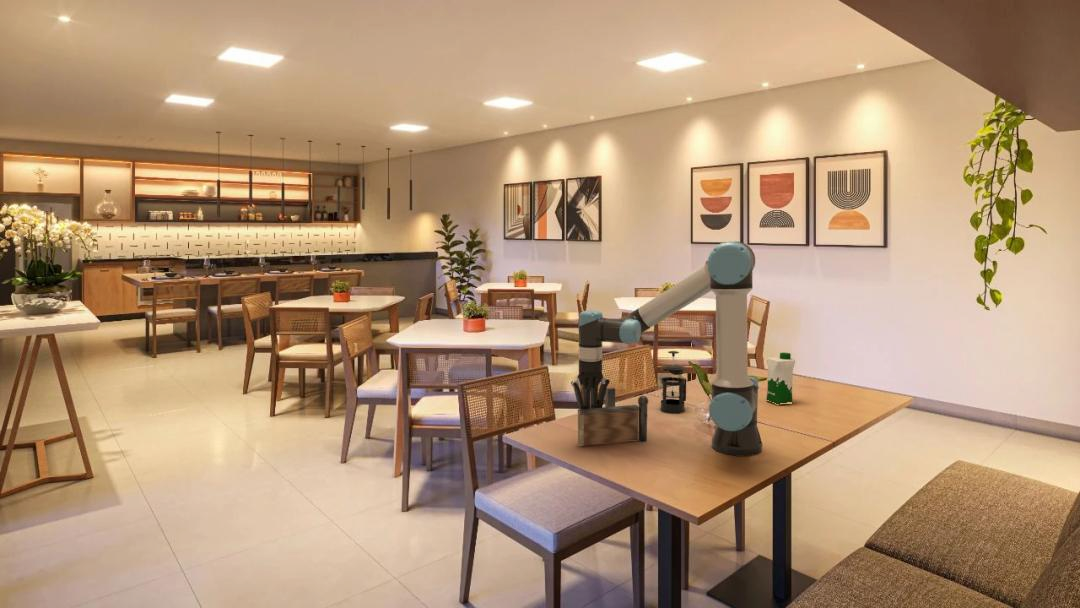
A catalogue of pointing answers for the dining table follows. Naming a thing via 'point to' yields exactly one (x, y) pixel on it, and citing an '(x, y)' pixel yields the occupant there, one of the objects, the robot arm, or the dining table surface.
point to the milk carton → (780, 378)
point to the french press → (672, 404)
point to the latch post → (610, 397)
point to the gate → (607, 425)
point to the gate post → (642, 419)
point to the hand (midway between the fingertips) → (590, 430)
